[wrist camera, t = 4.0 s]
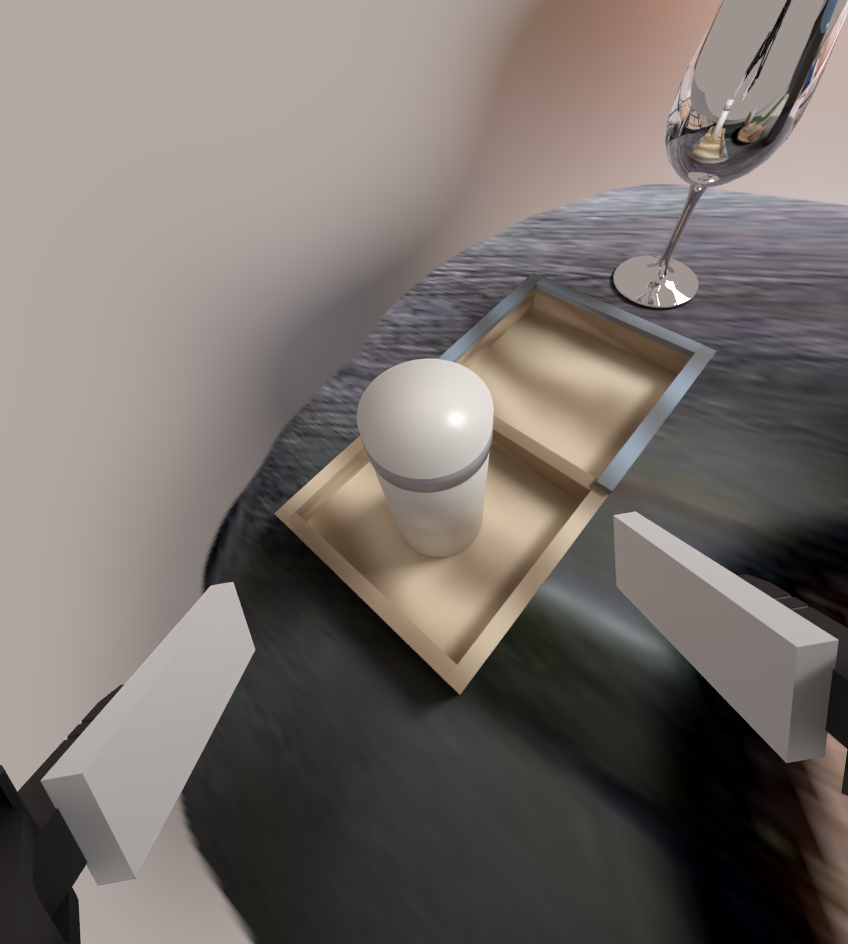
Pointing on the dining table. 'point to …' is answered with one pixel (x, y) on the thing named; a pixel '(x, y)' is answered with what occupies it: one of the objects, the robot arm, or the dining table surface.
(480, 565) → the bay tray
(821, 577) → the dining table surface
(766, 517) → the dining table surface
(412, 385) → the domed white canister
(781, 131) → the wineglass
